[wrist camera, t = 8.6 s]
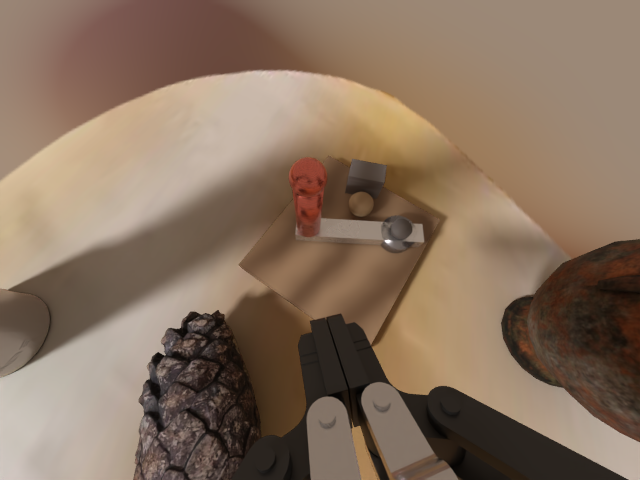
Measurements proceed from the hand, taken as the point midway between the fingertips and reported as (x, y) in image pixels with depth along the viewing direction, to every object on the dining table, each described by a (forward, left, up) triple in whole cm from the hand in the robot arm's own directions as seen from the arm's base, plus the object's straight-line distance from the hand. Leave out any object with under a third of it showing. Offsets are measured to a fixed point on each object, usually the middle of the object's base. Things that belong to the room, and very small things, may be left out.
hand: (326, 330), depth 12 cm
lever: (-2, +13, -17) cm, 22 cm away
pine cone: (-5, -12, -20) cm, 24 cm away
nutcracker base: (-3, +11, -20) cm, 23 cm away
